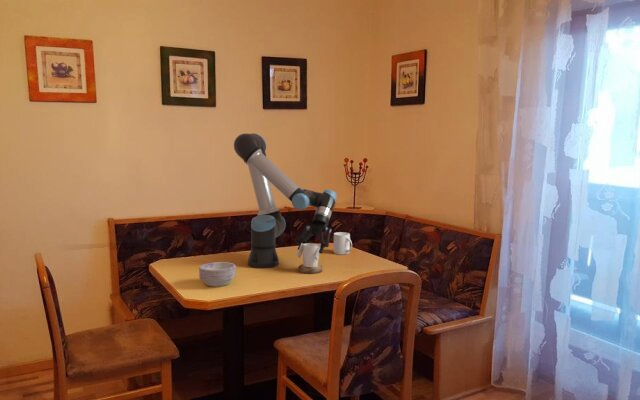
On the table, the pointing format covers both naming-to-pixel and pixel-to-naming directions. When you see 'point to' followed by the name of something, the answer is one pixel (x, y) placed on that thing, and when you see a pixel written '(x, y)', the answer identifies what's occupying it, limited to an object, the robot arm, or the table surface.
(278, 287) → the table surface
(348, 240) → the mug
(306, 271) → the trivet
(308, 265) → the white cup
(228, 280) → the grey bowl
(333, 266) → the table surface
